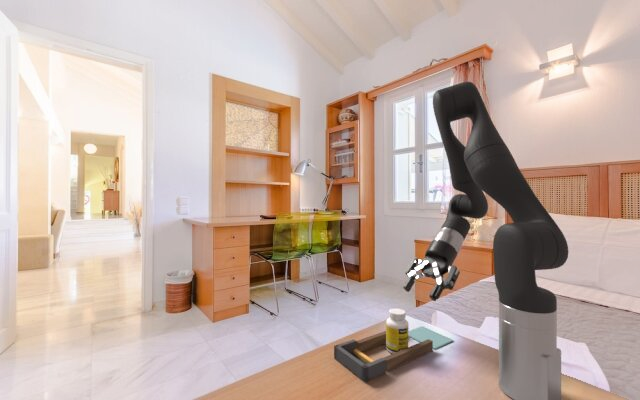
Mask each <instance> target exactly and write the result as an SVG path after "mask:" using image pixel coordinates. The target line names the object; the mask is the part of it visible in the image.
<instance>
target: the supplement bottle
mask: <svg viewBox="0 0 640 400" xmlns="http://www.w3.org/2000/svg"><path fill="white" fill-rule="evenodd" d="M388 311H389V313H388V318H387V319H386V320H385V321H386V323H385V324H386V325H385V326H386V327H385V331H386V343H385V348H386V350H387V351H388V352H389V353H390V354H394V353H396V352H398V351H401V350H403V349H406V348H408V347H409V337H408V331H409V321H408V320H407V319H406V316H407V315H406V313H407V312H406V311H405V309H402V308H398V307H397V308H389V310H388Z"/></svg>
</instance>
